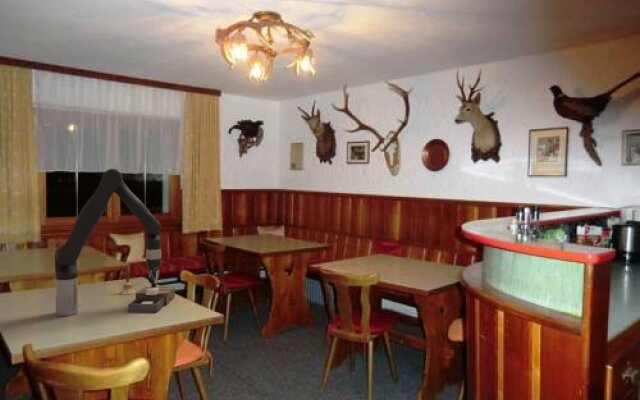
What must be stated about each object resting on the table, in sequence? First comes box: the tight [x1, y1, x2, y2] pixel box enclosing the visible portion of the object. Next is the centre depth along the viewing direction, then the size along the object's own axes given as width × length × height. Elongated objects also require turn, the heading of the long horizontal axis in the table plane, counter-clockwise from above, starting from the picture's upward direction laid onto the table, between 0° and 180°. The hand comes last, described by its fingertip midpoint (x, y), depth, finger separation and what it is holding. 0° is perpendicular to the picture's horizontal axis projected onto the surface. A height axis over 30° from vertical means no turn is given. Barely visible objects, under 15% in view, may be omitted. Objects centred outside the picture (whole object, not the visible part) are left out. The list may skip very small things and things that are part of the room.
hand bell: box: [119, 264, 137, 296], centre depth 259 cm, size 8×8×16 cm
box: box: [127, 297, 166, 314], centre depth 231 cm, size 12×14×4 cm
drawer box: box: [135, 286, 176, 306], centre depth 244 cm, size 14×16×6 cm
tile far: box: [146, 288, 159, 295], centre depth 237 cm, size 5×5×2 cm
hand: (153, 289), depth 241 cm, fingers closed
